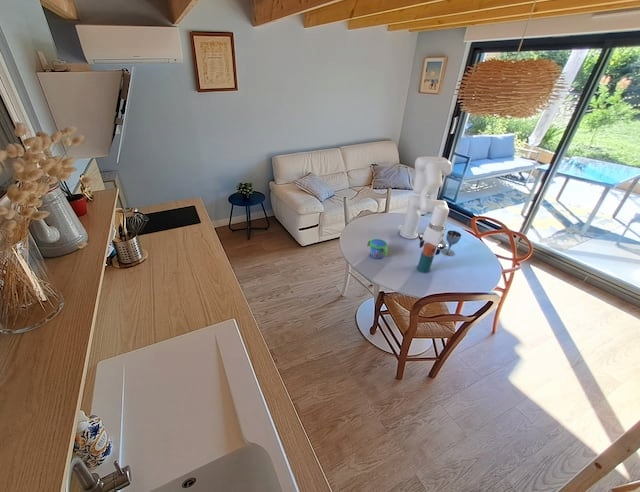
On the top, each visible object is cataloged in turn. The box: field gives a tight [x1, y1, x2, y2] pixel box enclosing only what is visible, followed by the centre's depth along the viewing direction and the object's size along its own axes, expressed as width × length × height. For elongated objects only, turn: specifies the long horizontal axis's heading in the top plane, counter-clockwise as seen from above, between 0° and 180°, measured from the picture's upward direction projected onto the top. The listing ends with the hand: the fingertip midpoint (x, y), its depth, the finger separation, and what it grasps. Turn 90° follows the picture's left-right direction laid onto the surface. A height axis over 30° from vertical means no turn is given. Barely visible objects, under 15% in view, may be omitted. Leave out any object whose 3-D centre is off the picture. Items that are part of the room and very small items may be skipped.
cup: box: [421, 242, 437, 257], centre depth 170 cm, size 6×6×6 cm
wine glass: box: [441, 230, 462, 257], centre depth 189 cm, size 8×8×15 cm
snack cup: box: [366, 238, 389, 259], centre depth 188 cm, size 16×10×10 cm
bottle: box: [416, 252, 435, 274], centre depth 174 cm, size 7×7×16 cm
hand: (428, 250), depth 171 cm, fingers open, 9 cm apart
